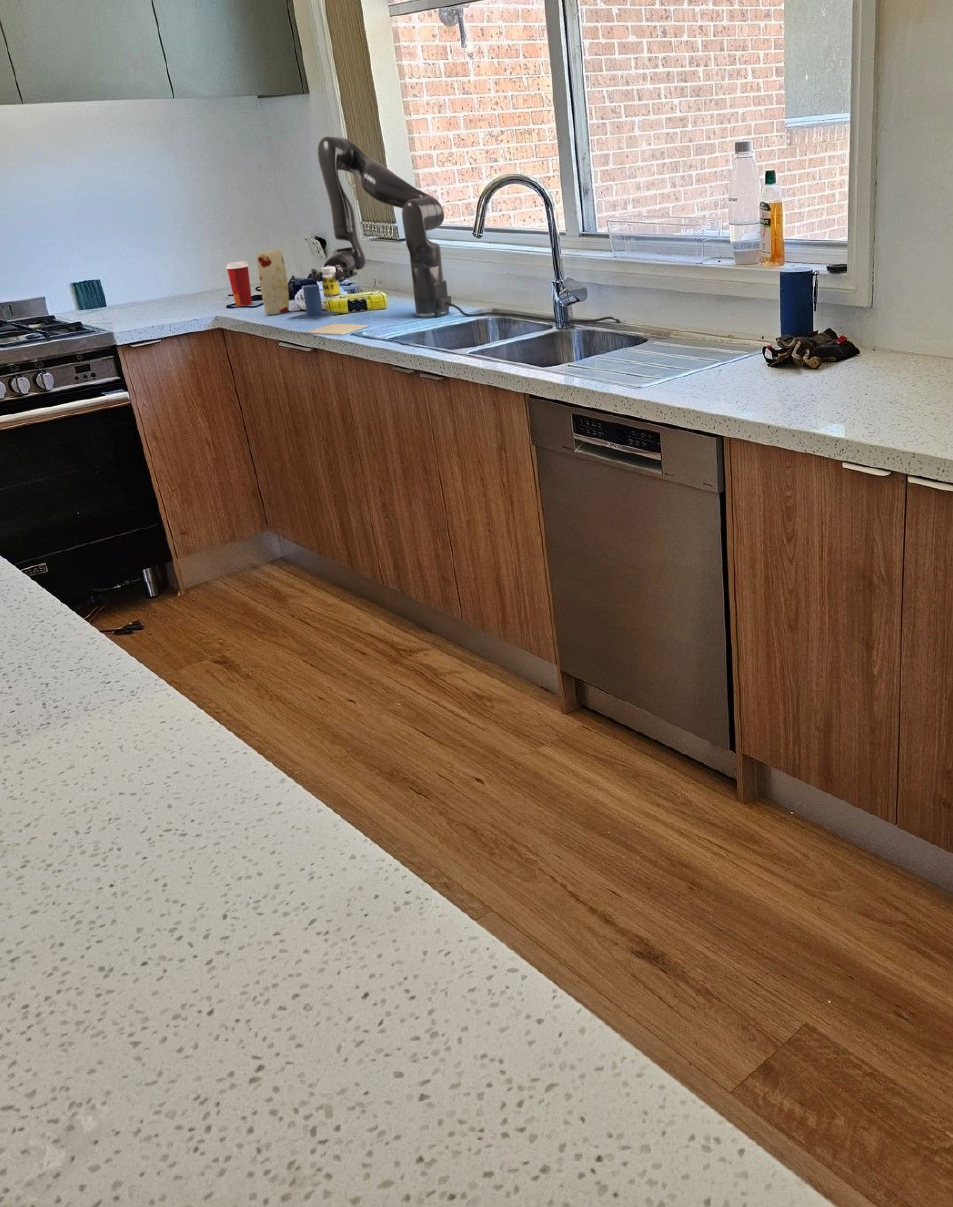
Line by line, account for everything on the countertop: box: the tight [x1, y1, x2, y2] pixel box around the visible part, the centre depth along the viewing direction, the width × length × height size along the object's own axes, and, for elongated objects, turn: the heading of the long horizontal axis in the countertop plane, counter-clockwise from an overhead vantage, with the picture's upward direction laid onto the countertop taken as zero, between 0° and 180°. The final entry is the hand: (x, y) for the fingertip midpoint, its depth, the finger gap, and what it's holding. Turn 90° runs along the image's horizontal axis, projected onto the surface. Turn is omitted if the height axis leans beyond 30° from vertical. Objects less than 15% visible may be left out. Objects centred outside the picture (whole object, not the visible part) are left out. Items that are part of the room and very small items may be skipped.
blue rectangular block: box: [302, 284, 324, 317], centre depth 338 cm, size 5×5×9 cm
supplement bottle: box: [320, 266, 341, 300], centre depth 310 cm, size 5×5×8 cm
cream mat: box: [305, 323, 369, 336], centre depth 316 cm, size 14×12×1 cm
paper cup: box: [225, 260, 253, 307], centre depth 370 cm, size 8×8×14 cm
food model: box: [256, 249, 290, 316], centre depth 345 cm, size 10×7×20 cm
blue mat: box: [288, 310, 342, 321], centre depth 340 cm, size 12×12×1 cm
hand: (327, 277), depth 307 cm, fingers closed on supplement bottle, 4 cm apart
